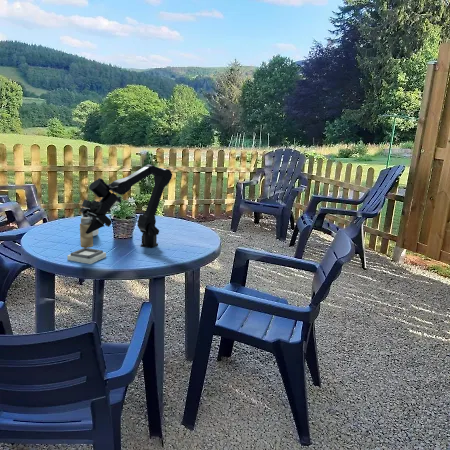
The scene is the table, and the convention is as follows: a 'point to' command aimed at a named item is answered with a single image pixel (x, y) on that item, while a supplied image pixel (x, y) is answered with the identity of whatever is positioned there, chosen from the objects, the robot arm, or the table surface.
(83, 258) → the stand
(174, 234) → the table surface
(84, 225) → the pepper mill
